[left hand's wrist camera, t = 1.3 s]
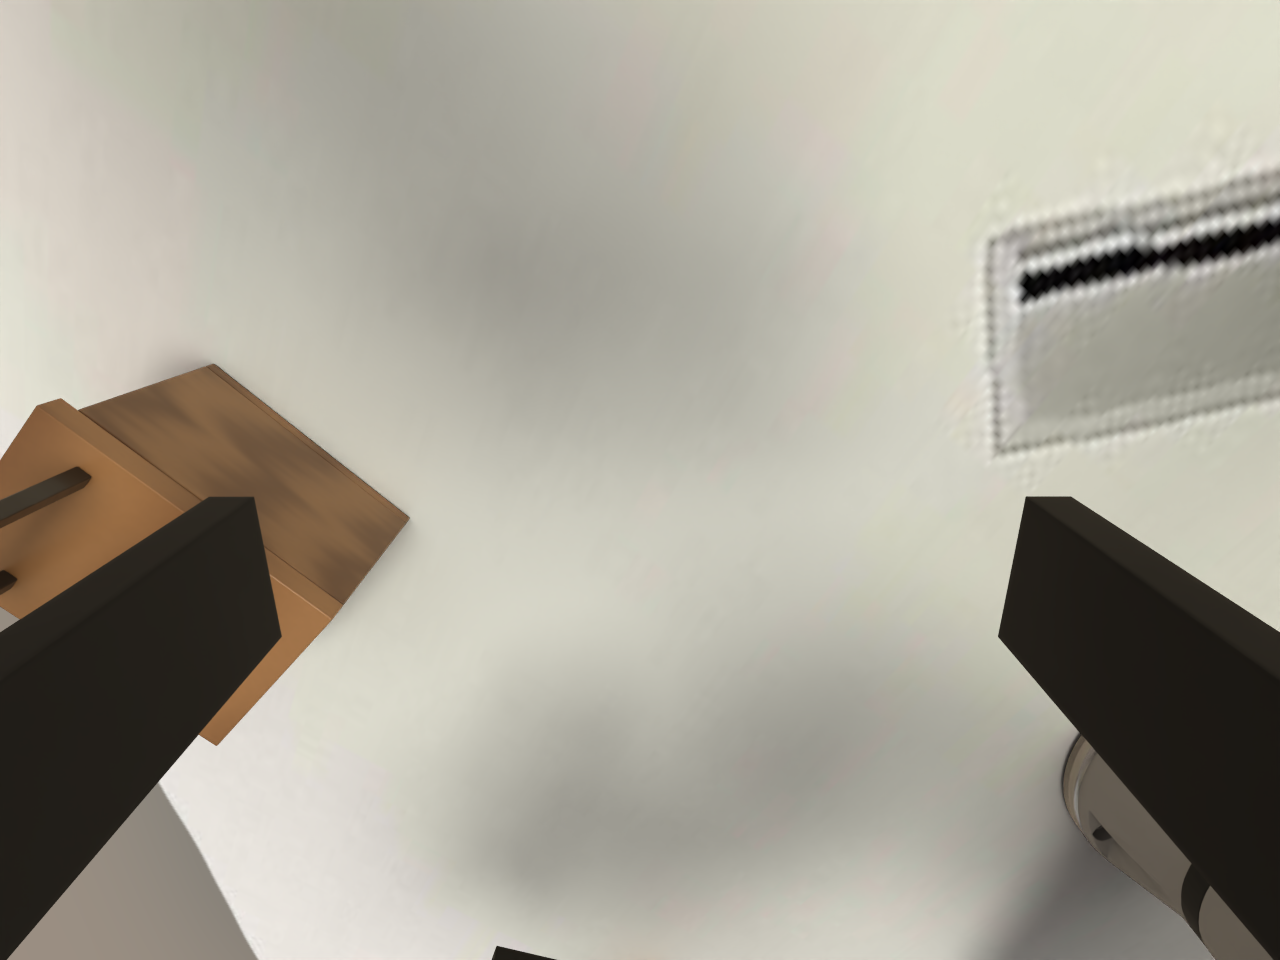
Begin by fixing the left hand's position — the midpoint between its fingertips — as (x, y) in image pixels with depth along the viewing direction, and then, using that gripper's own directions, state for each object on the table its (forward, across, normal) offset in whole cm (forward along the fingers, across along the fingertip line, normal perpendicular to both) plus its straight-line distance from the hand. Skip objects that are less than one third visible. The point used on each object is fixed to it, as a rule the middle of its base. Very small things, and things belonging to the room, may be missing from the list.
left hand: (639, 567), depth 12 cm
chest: (+27, -21, -10) cm, 36 cm away
